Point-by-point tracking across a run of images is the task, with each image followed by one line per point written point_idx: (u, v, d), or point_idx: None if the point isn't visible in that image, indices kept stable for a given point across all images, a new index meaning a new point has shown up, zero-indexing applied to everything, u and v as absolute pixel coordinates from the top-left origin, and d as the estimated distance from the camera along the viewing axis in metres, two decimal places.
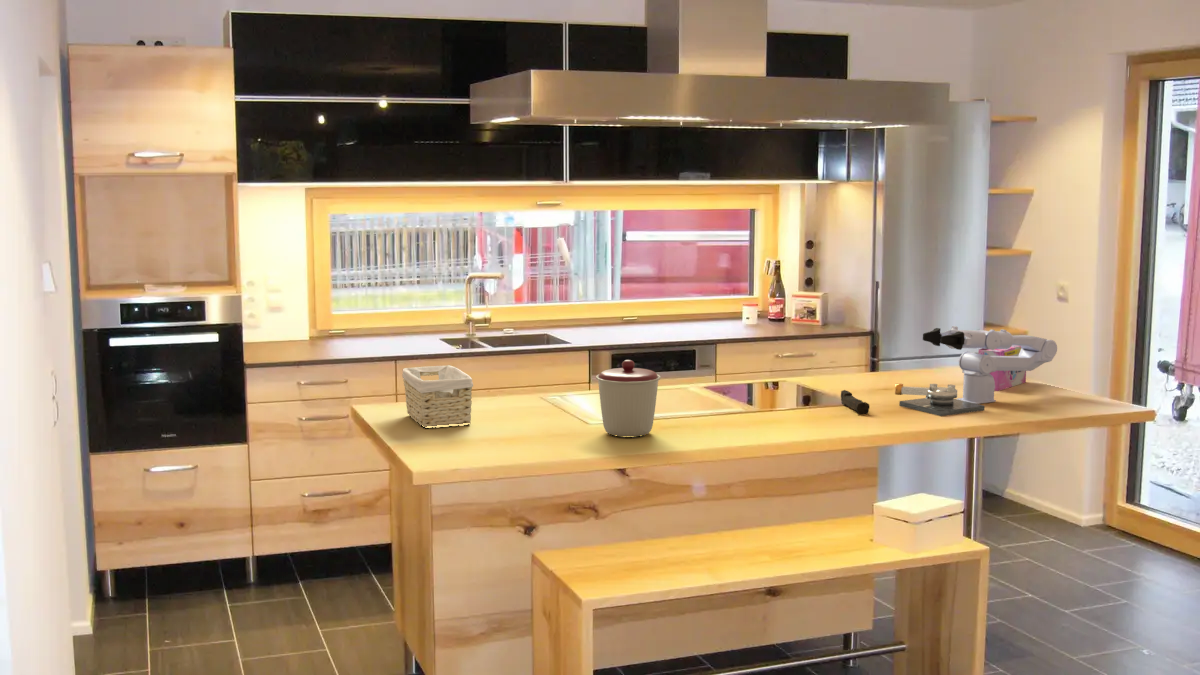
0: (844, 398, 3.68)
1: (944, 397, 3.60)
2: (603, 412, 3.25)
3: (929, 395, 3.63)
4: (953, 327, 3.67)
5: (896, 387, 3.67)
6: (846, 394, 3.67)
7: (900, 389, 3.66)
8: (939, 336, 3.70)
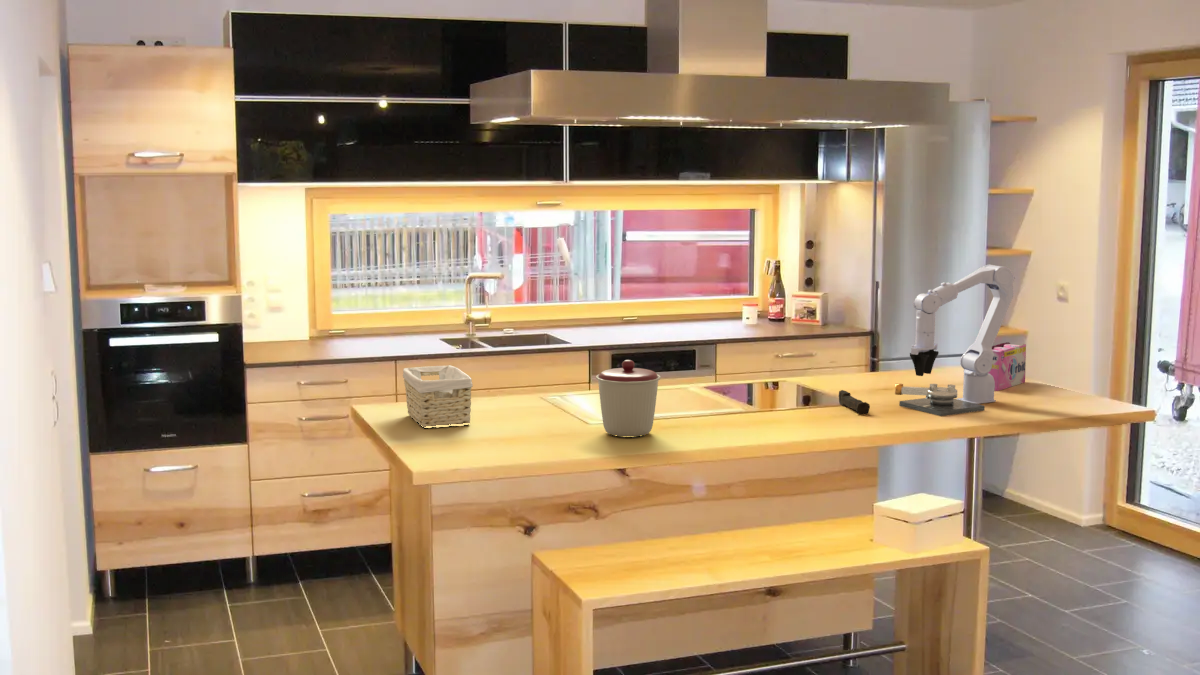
0: (843, 398, 3.67)
1: (944, 397, 3.60)
2: (603, 412, 3.25)
3: (929, 395, 3.63)
4: None
5: (896, 387, 3.67)
6: (845, 394, 3.67)
7: (900, 389, 3.66)
8: (927, 353, 3.71)
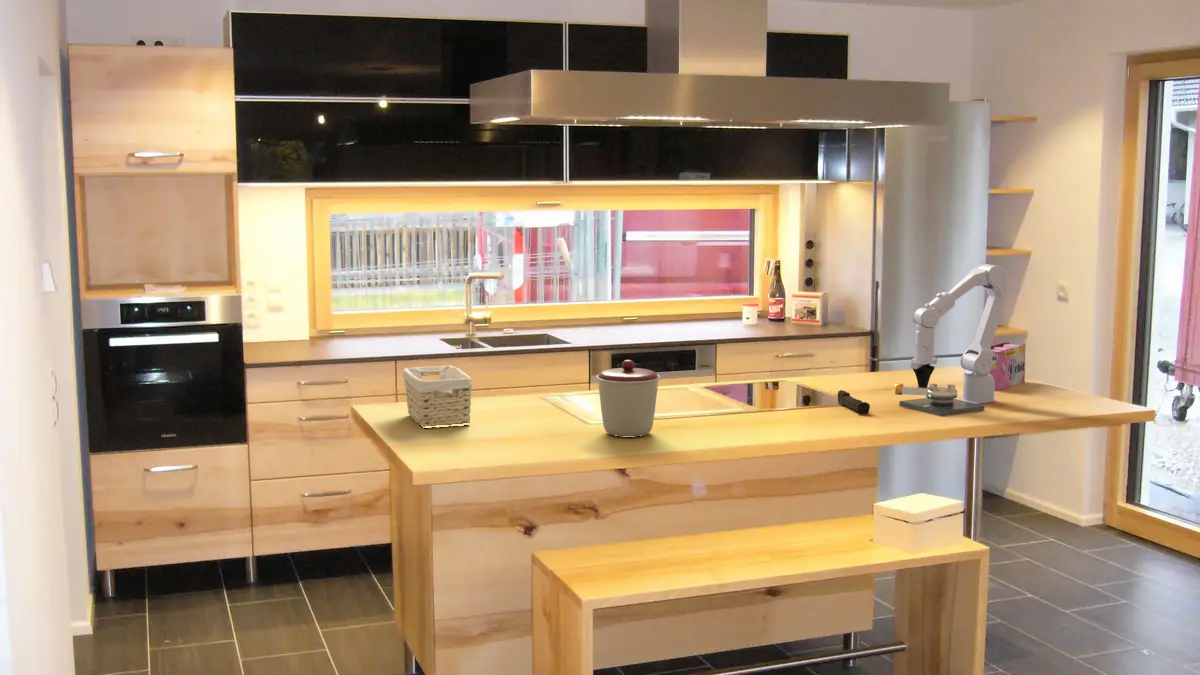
0: (842, 398, 3.67)
1: (944, 397, 3.60)
2: (603, 412, 3.25)
3: (929, 395, 3.63)
4: None
5: (896, 387, 3.67)
6: (844, 394, 3.67)
7: (900, 389, 3.66)
8: None
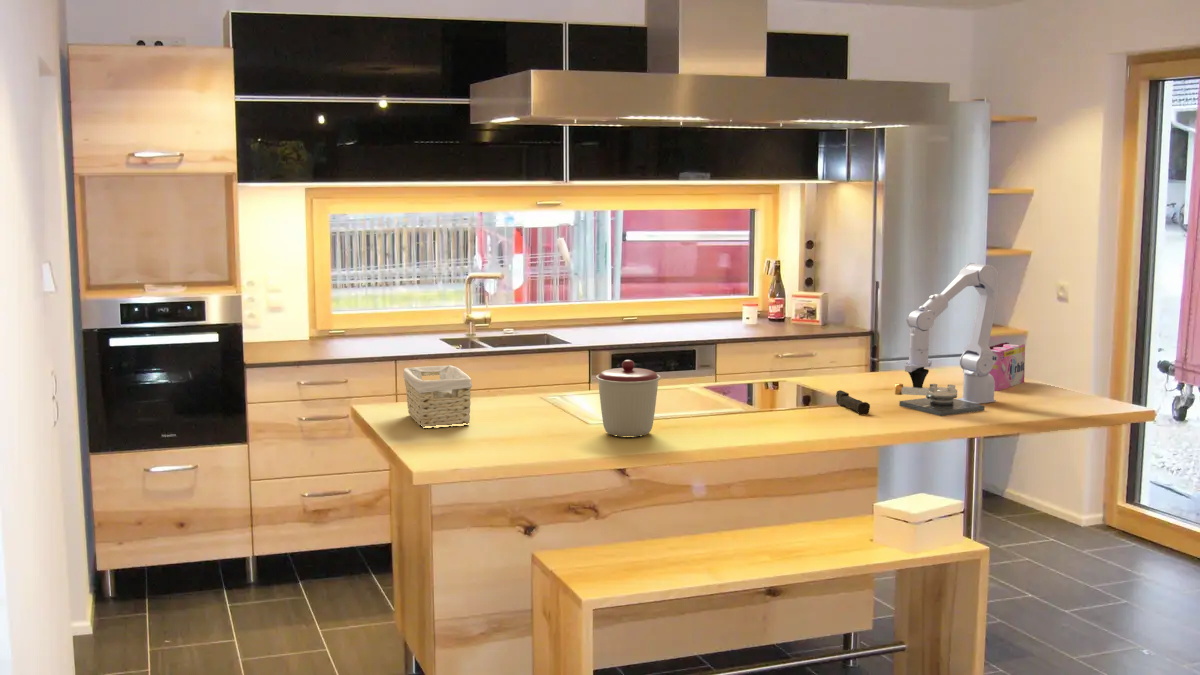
0: (841, 398, 3.67)
1: (944, 397, 3.60)
2: (603, 412, 3.25)
3: (929, 395, 3.63)
4: None
5: (896, 387, 3.67)
6: (843, 394, 3.67)
7: (900, 389, 3.66)
8: None
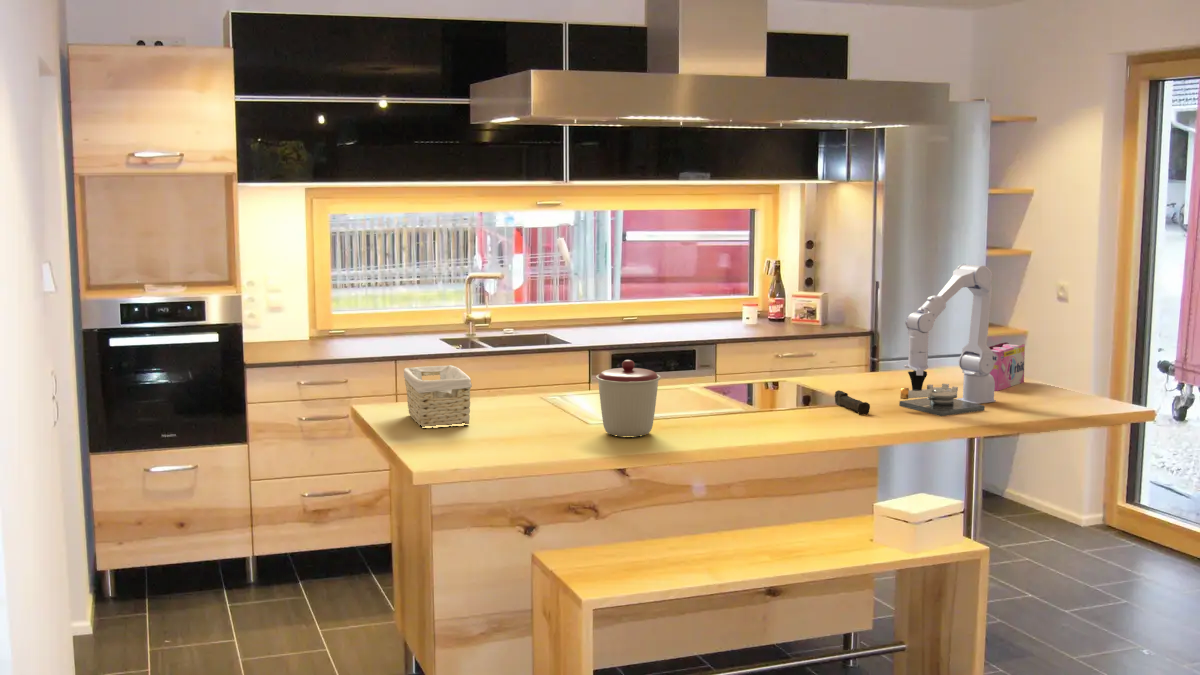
0: (840, 398, 3.67)
1: (952, 397, 3.60)
2: (603, 412, 3.25)
3: (935, 396, 3.61)
4: None
5: (903, 392, 3.59)
6: (842, 394, 3.67)
7: (908, 393, 3.60)
8: None
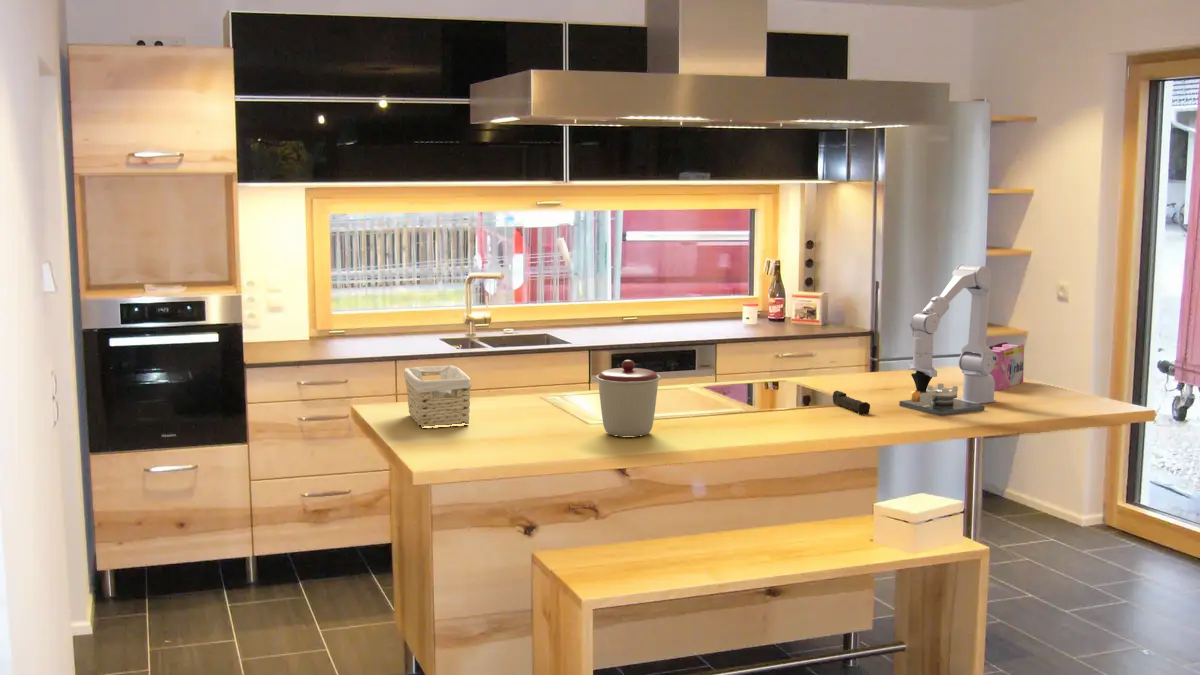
0: (839, 399, 3.67)
1: (955, 396, 3.61)
2: (603, 412, 3.25)
3: (941, 397, 3.60)
4: None
5: (916, 394, 3.55)
6: (841, 395, 3.67)
7: (919, 396, 3.56)
8: None
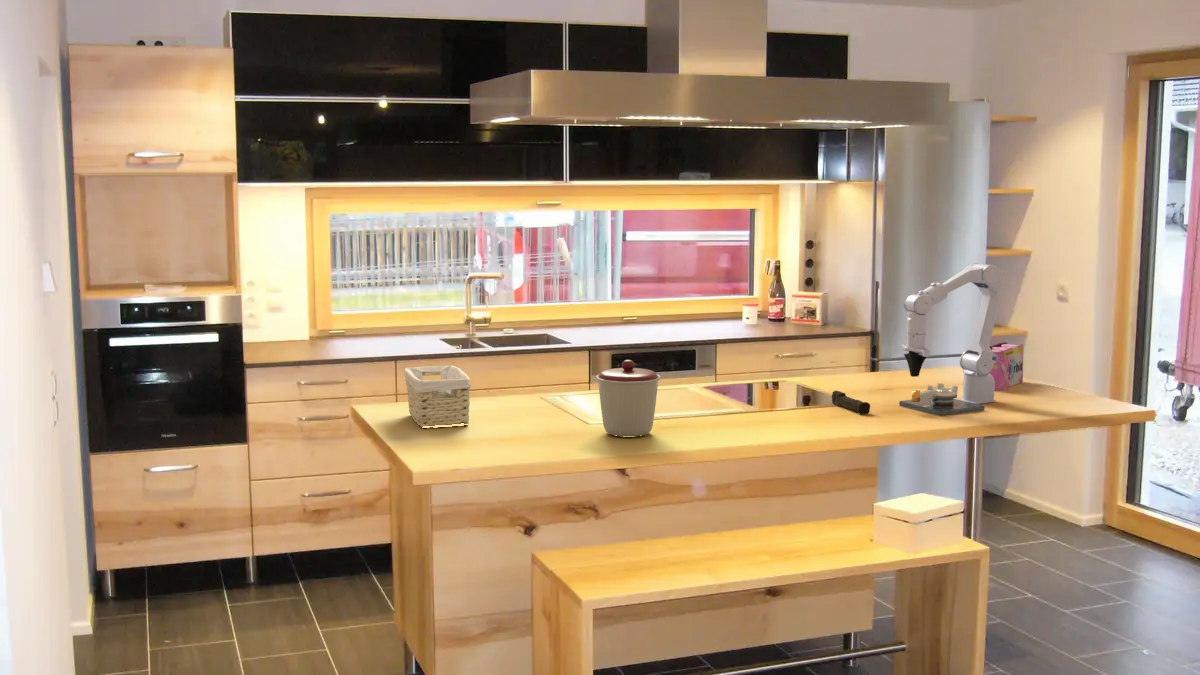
0: (838, 398, 3.67)
1: (955, 396, 3.61)
2: (603, 412, 3.25)
3: (941, 397, 3.60)
4: None
5: (916, 394, 3.55)
6: (840, 394, 3.67)
7: (920, 396, 3.55)
8: None
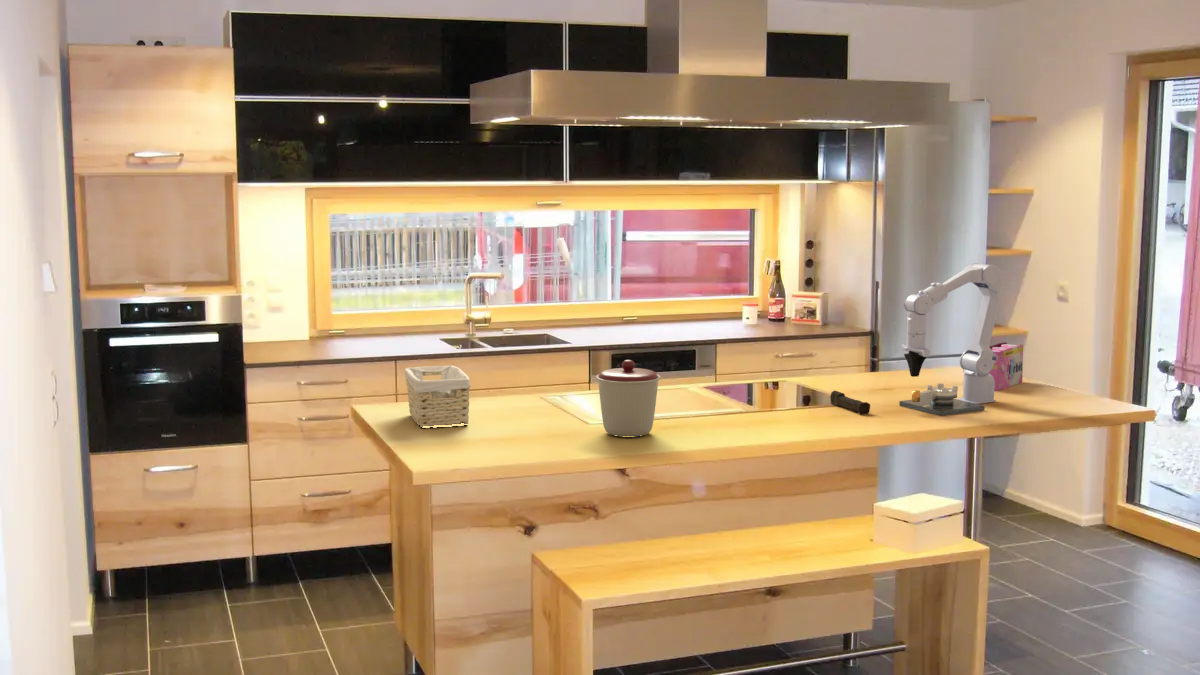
0: (837, 399, 3.67)
1: (955, 396, 3.61)
2: (603, 412, 3.25)
3: (941, 397, 3.60)
4: None
5: (916, 394, 3.55)
6: (839, 395, 3.66)
7: (920, 396, 3.55)
8: None
